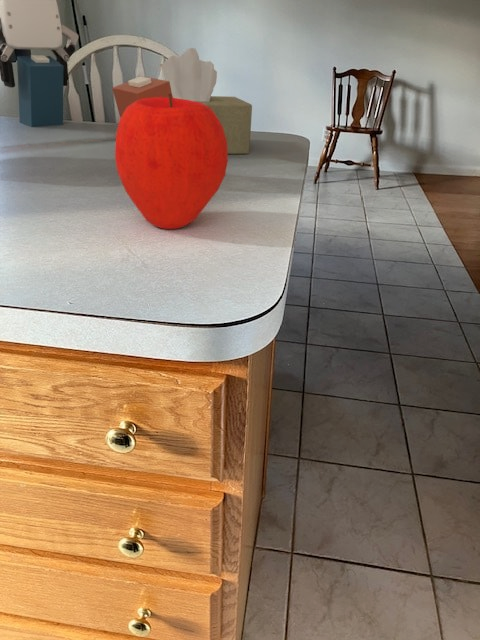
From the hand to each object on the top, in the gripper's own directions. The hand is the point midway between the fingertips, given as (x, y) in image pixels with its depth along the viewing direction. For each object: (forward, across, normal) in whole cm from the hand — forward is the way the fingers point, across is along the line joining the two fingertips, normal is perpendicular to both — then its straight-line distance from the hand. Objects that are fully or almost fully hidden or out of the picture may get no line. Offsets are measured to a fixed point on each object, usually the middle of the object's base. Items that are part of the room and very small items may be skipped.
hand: (36, 85), depth 96 cm
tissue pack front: (+2, +4, +37) cm, 38 cm away
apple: (+8, +10, +54) cm, 56 cm away
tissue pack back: (+2, 0, +4) cm, 4 cm away
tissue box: (+8, -16, +24) cm, 30 cm away
